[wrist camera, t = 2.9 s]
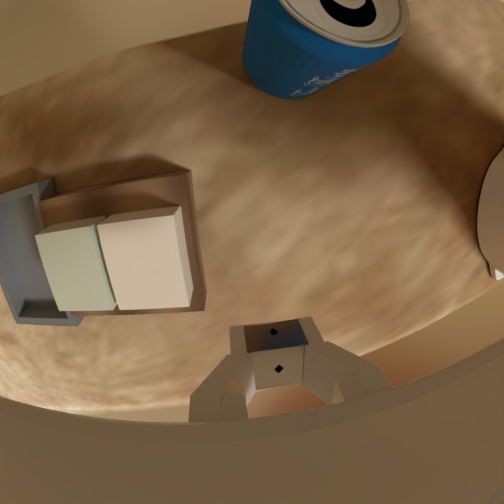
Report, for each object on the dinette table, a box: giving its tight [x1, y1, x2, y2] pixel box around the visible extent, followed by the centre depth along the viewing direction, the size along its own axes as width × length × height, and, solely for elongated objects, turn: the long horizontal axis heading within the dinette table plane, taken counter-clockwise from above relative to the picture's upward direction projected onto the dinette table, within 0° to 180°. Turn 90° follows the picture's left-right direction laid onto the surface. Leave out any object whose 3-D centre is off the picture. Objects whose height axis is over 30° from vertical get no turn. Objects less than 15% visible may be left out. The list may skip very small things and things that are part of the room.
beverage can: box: [243, 0, 409, 99], centre depth 12 cm, size 6×6×12 cm
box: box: [0, 177, 85, 326], centre depth 20 cm, size 9×13×2 cm
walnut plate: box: [39, 170, 207, 315], centre depth 20 cm, size 12×10×3 cm
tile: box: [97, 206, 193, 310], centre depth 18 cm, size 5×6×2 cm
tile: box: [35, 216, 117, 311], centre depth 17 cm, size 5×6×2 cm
